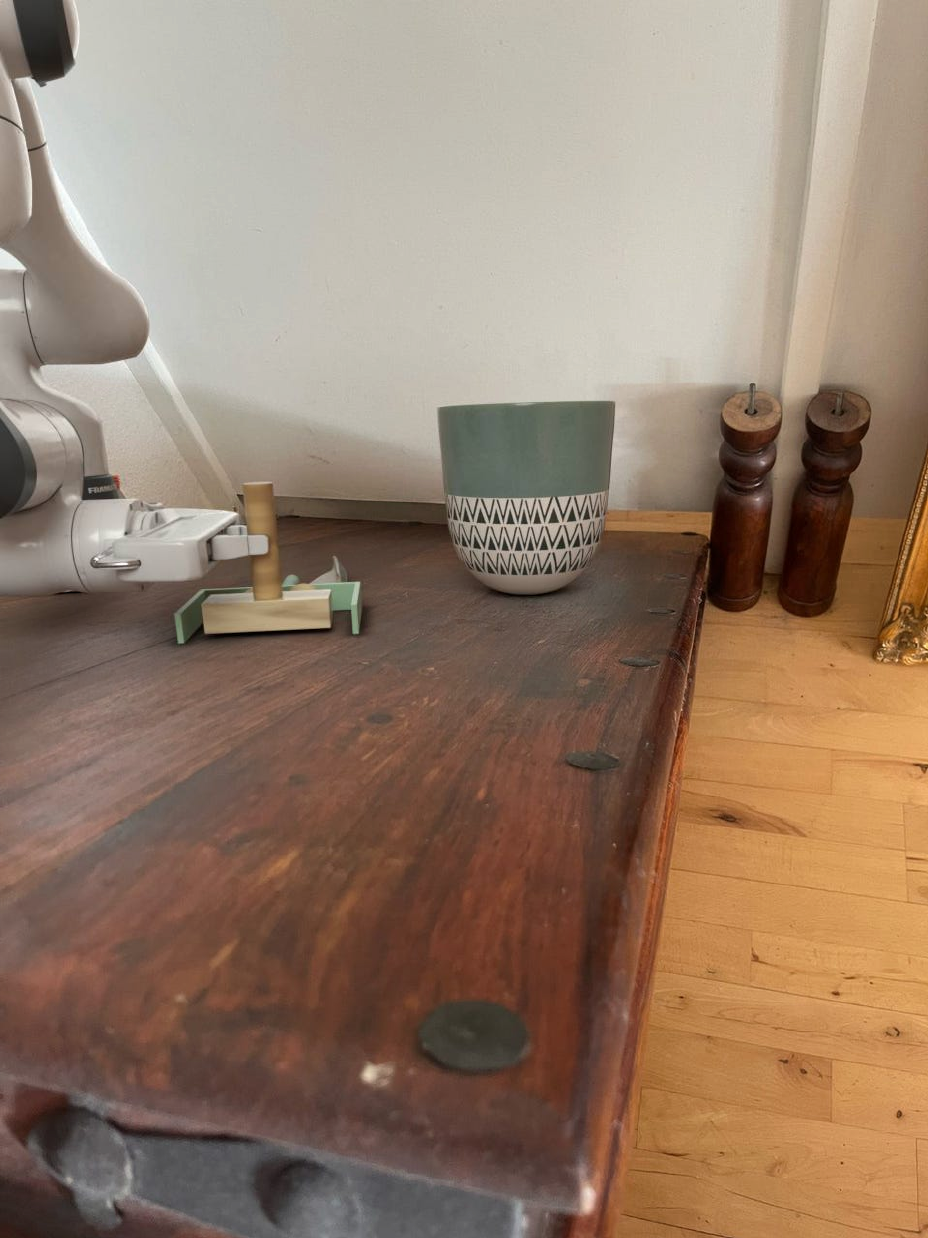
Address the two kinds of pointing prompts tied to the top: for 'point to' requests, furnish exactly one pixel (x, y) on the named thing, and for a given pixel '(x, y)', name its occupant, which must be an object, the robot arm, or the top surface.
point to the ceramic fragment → (333, 574)
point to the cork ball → (302, 587)
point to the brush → (266, 583)
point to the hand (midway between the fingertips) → (272, 540)
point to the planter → (526, 489)
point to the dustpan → (342, 593)
